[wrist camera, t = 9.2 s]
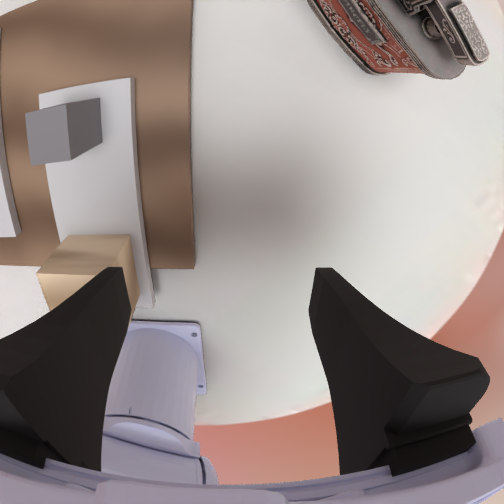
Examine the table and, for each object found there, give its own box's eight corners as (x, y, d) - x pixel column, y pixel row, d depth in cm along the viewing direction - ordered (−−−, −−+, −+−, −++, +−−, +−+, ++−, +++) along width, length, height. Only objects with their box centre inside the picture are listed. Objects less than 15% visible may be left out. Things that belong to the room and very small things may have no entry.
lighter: (284, -19, 13) (332, -98, 4) (328, -41, 12) (401, -113, 4) (365, 84, 17) (471, 100, 8) (403, 60, 16) (519, 66, 7)
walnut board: (195, 261, 22) (194, 268, 21) (-17, 258, 21) (-23, 264, 20) (195, -28, 13) (193, -33, 12) (-48, 46, 11) (-56, 47, 10)
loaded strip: (155, 301, 22) (142, 349, 18) (82, 297, 22) (59, 341, 18) (134, 77, 15) (101, 78, 11) (45, 93, 14) (-2, 103, 10)
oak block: (140, 293, 21) (124, 340, 17) (82, 291, 21) (59, 334, 17) (130, 234, 19) (106, 275, 15) (68, 235, 18) (36, 273, 14)
